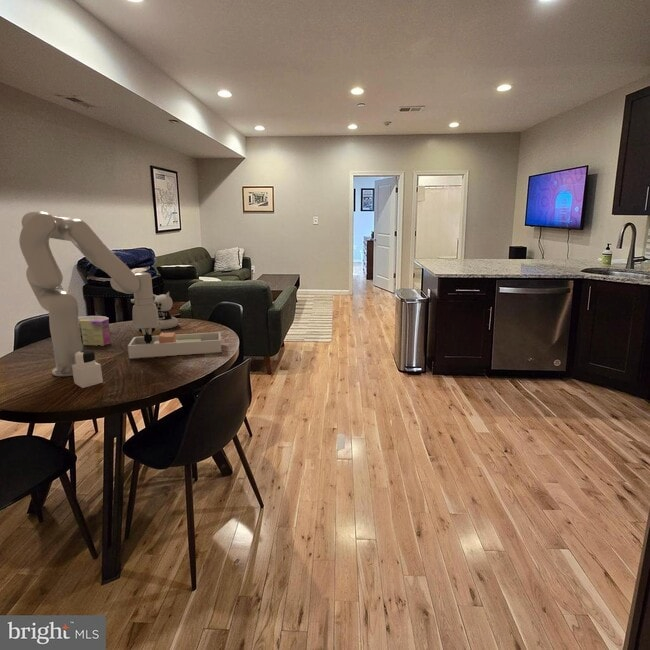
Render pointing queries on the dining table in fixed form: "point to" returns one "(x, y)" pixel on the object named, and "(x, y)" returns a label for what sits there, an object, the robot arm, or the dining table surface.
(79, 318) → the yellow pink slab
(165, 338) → the block
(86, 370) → the medicine bottle
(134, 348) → the channel
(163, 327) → the decorative figurine
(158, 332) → the pot
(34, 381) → the dining table surface
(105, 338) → the box
